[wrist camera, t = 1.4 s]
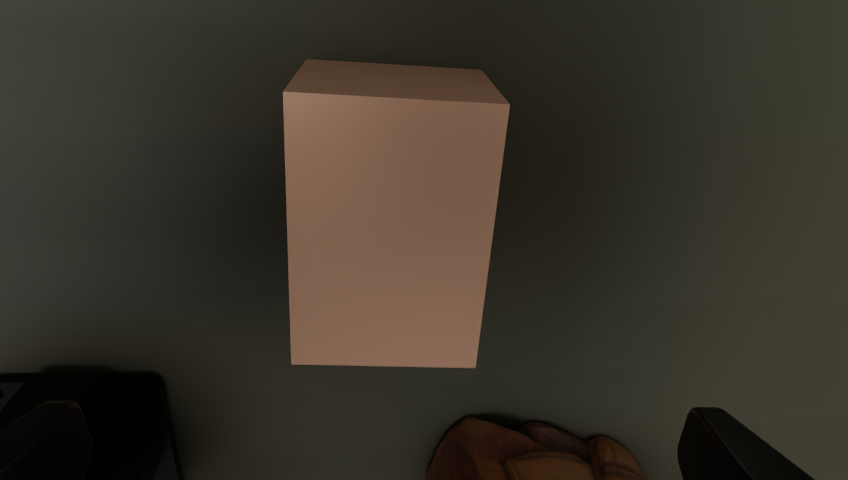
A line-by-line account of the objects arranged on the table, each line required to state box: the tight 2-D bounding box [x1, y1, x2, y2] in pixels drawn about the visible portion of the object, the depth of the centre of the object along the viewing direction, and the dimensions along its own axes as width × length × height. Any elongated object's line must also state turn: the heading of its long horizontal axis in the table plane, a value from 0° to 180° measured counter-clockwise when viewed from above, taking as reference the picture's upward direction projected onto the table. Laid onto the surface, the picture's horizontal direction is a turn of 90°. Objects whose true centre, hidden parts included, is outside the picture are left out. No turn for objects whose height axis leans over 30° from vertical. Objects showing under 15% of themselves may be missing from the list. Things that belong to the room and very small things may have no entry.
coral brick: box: [283, 59, 510, 368], centre depth 18 cm, size 8×6×5 cm
